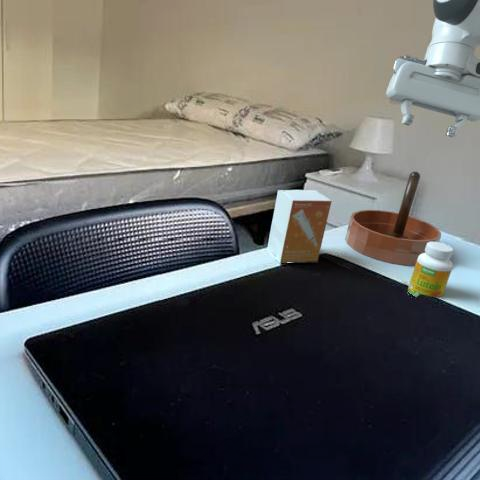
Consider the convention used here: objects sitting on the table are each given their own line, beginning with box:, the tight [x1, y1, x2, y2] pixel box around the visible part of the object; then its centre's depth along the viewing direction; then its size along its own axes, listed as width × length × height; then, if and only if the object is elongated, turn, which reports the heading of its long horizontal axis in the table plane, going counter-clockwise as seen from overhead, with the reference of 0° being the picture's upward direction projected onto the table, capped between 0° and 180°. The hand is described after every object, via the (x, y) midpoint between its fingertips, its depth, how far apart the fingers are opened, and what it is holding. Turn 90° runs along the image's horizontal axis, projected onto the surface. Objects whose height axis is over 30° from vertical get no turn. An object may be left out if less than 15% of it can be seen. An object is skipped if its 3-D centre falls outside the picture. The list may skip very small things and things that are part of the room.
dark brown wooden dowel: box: [384, 171, 421, 240], centre depth 104 cm, size 5×5×16 cm
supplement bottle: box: [407, 241, 454, 298], centre depth 85 cm, size 5×5×10 cm
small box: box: [266, 189, 332, 264], centre depth 95 cm, size 8×6×13 cm
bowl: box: [344, 209, 442, 267], centre depth 104 cm, size 17×17×6 cm
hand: (428, 130), depth 103 cm, fingers open, 8 cm apart
